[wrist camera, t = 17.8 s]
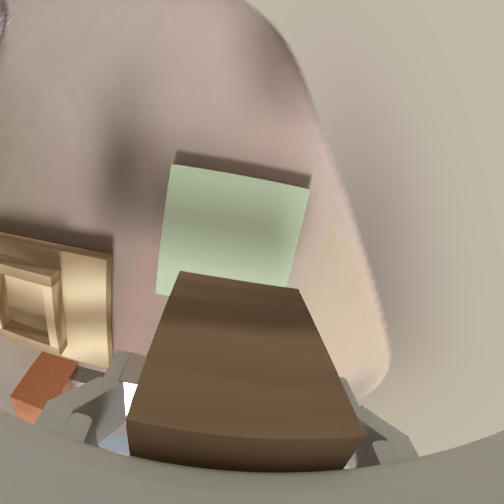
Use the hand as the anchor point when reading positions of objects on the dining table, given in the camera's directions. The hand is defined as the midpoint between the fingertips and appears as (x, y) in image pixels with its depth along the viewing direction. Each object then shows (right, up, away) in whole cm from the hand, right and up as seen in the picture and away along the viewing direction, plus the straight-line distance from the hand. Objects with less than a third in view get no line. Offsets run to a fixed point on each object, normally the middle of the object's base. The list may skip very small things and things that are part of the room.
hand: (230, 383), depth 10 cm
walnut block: (0, +1, +3) cm, 4 cm away
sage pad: (-1, +6, +16) cm, 17 cm away
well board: (-22, 0, +16) cm, 27 cm away
